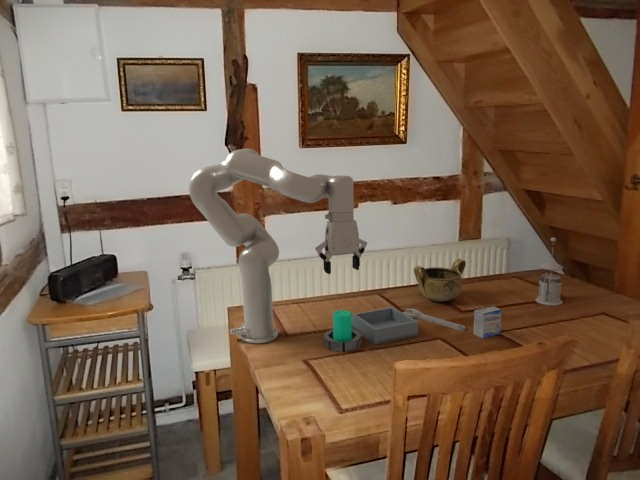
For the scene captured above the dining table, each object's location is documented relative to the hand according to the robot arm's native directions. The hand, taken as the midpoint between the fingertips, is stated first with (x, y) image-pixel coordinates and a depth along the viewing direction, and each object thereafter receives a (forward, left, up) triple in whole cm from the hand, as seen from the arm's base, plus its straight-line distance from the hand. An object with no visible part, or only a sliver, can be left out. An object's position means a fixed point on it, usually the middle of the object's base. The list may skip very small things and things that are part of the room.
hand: (341, 270), depth 174 cm
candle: (0, 0, -24) cm, 25 cm away
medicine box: (+46, -14, -24) cm, 54 cm away
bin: (+17, +3, -24) cm, 30 cm away
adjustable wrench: (+36, +4, -25) cm, 44 cm away
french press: (+88, +1, -24) cm, 91 cm away
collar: (0, 0, -24) cm, 24 cm away
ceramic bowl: (+53, +22, -24) cm, 62 cm away
